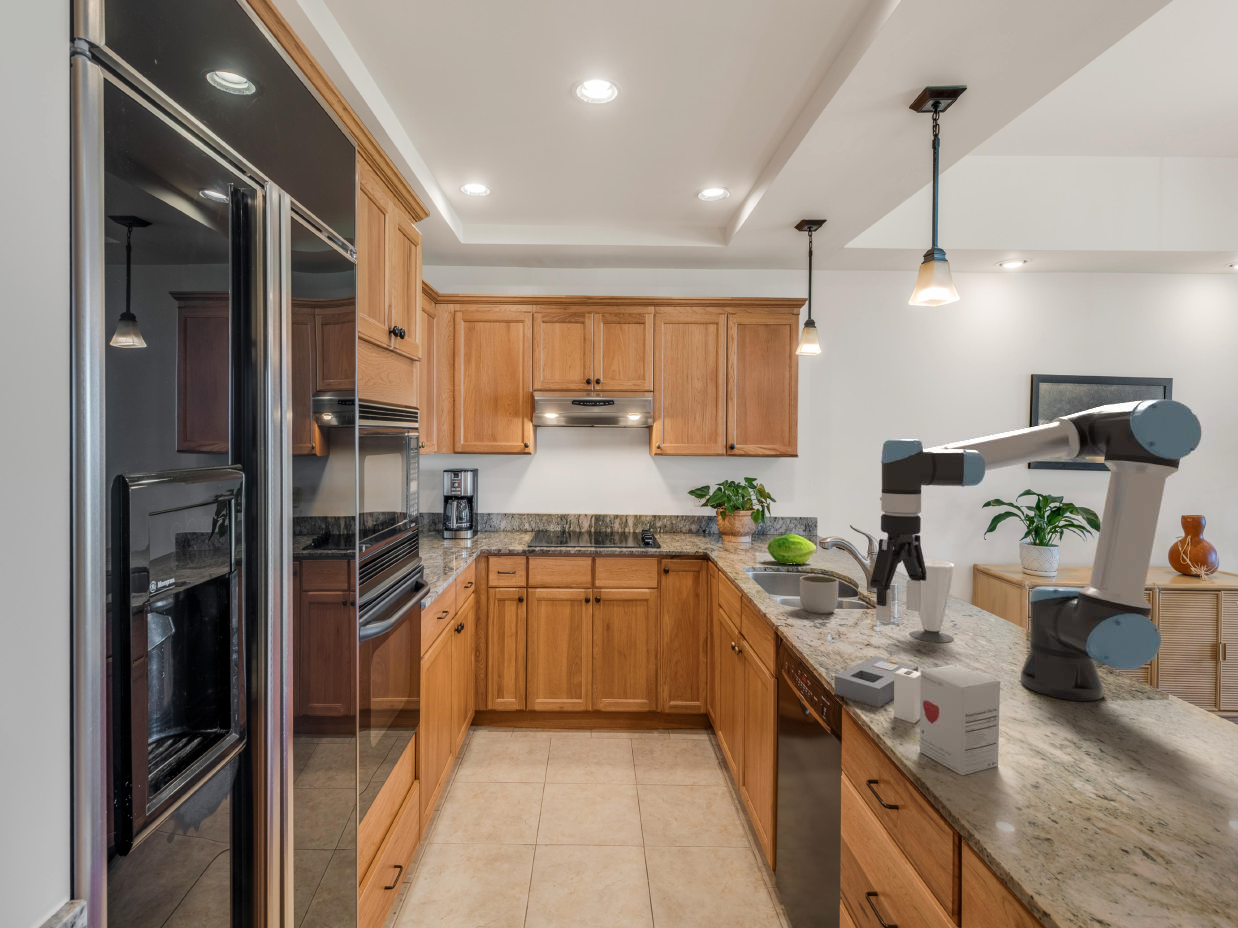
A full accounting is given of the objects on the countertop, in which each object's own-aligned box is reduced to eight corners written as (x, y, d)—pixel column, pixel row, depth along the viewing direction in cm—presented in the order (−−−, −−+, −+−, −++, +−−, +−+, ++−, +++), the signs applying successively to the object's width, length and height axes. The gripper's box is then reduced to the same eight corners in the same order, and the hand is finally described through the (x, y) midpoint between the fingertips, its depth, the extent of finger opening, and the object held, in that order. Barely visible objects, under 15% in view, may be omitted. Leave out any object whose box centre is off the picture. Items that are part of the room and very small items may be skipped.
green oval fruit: (812, 559, 301) (818, 569, 285) (765, 558, 303) (769, 568, 288) (812, 530, 298) (819, 539, 283) (765, 529, 301) (769, 538, 285)
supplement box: (917, 751, 109) (918, 668, 109) (954, 743, 112) (955, 662, 112) (961, 776, 101) (962, 686, 100) (1000, 767, 104) (1001, 679, 104)
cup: (960, 643, 171) (961, 567, 170) (916, 641, 173) (917, 565, 172) (945, 631, 182) (946, 559, 182) (904, 630, 184) (905, 558, 183)
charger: (922, 717, 123) (922, 672, 123) (914, 723, 121) (914, 677, 121) (902, 710, 126) (902, 667, 126) (893, 716, 124) (894, 671, 124)
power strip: (917, 683, 141) (918, 665, 141) (878, 707, 128) (879, 687, 128) (875, 671, 149) (875, 654, 149) (834, 693, 135) (834, 674, 135)
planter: (812, 604, 215) (813, 573, 215) (845, 611, 205) (845, 579, 205) (792, 610, 207) (792, 578, 207) (824, 618, 197) (825, 584, 197)
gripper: (909, 509, 137) (907, 602, 138) (852, 516, 121) (851, 622, 122) (944, 511, 132) (942, 609, 132) (890, 519, 116) (888, 630, 116)
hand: (898, 615), depth 127 cm, fingers open, 13 cm apart
